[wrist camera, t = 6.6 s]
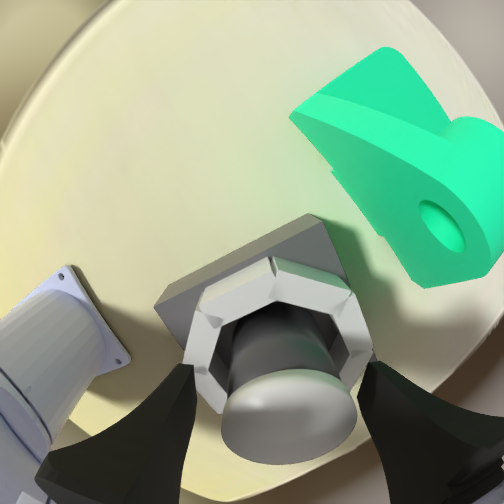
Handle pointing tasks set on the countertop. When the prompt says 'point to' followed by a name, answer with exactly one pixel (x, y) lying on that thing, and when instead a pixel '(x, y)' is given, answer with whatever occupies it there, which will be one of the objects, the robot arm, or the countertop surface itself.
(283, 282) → the square octagon-collar plate
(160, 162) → the countertop surface
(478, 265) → the camera mount
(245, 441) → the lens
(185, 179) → the countertop surface
